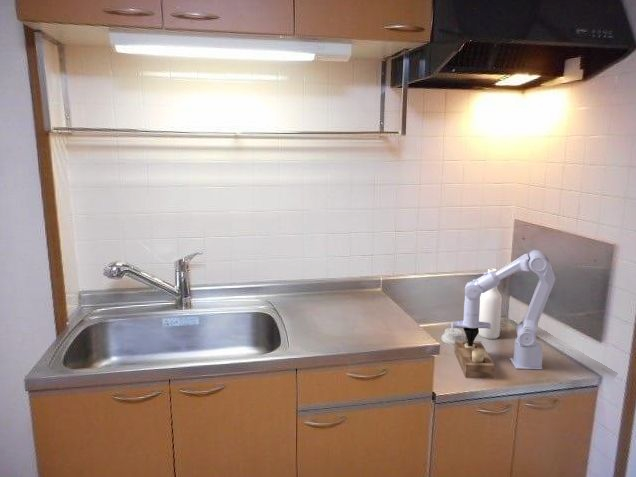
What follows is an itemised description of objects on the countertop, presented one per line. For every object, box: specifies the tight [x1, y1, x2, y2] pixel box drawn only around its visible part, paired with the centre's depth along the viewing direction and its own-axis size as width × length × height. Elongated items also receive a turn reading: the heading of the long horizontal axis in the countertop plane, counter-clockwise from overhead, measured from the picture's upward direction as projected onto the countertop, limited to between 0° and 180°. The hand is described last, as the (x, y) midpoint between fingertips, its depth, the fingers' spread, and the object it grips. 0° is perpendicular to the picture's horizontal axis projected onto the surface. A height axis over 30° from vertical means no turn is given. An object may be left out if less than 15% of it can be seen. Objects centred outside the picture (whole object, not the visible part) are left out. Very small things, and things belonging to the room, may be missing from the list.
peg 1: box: [465, 343, 475, 348], centre depth 180 cm, size 4×4×5 cm
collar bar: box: [453, 340, 496, 379], centre depth 174 cm, size 10×20×5 cm, turn 175°
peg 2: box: [472, 350, 484, 363], centre depth 168 cm, size 4×4×5 cm
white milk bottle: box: [478, 267, 503, 340], centre depth 196 cm, size 9×9×30 cm
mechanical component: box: [441, 327, 467, 346], centre depth 195 cm, size 10×4×10 cm
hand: (469, 345), depth 179 cm, fingers closed, pressing on peg 1
